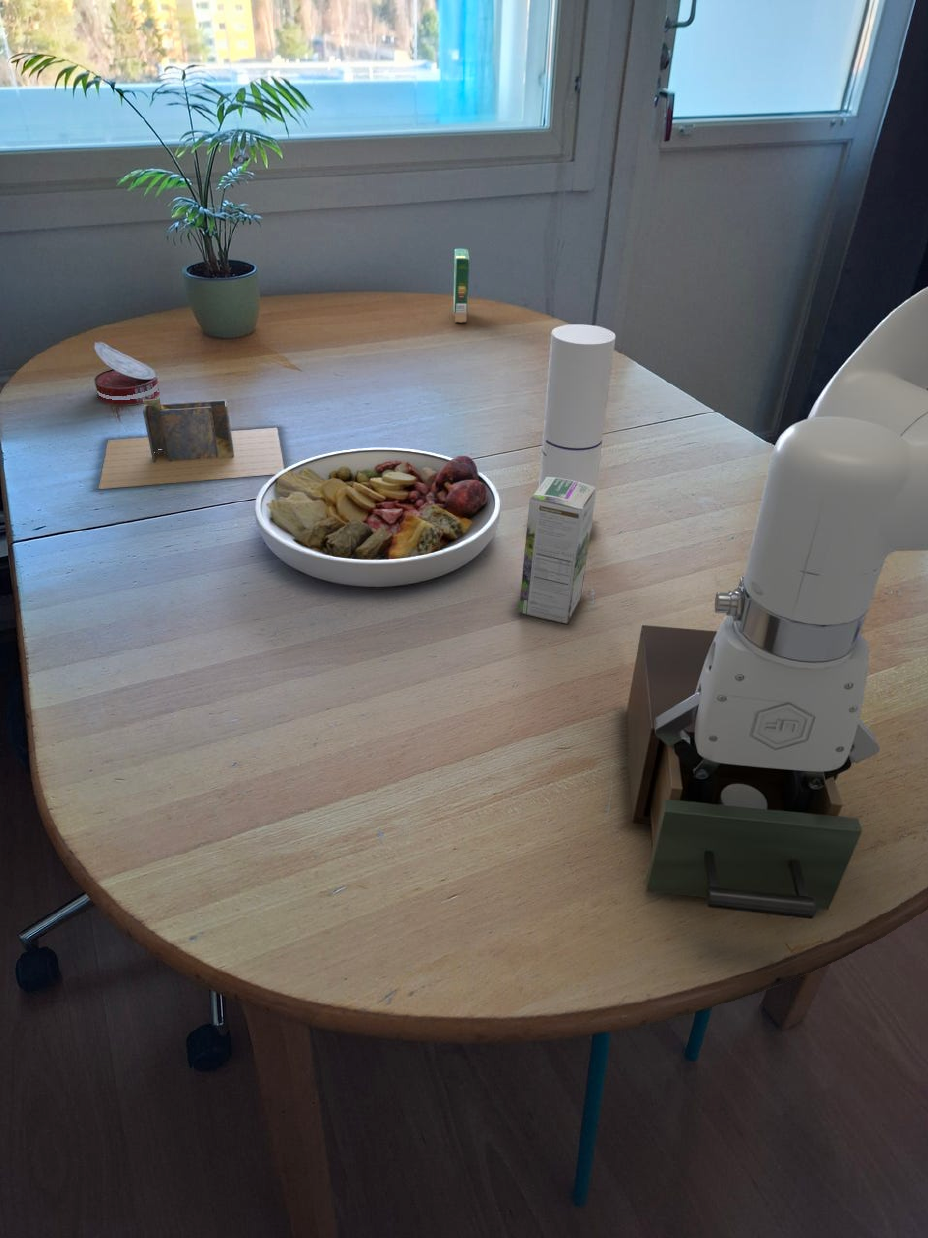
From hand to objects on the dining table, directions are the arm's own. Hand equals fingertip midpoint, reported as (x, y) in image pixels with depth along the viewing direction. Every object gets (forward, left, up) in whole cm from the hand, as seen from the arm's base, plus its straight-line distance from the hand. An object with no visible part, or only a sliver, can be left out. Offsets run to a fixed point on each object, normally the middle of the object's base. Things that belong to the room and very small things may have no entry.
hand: (744, 806), depth 66 cm
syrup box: (+15, -34, -6) cm, 38 cm away
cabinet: (0, -10, -6) cm, 12 cm away
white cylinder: (0, 0, -4) cm, 4 cm away
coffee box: (+38, -139, -6) cm, 144 cm away
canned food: (+87, -86, -6) cm, 123 cm away
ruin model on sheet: (+68, -65, -6) cm, 94 cm away
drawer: (0, +1, -5) cm, 5 cm away
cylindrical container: (+14, -52, -6) cm, 54 cm away
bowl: (+37, -47, -6) cm, 60 cm away
